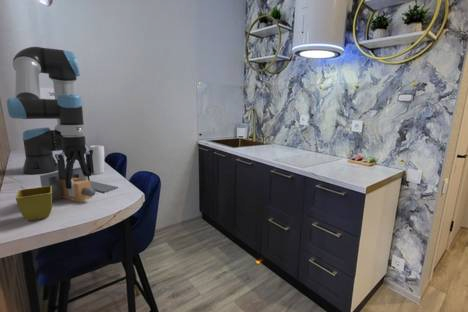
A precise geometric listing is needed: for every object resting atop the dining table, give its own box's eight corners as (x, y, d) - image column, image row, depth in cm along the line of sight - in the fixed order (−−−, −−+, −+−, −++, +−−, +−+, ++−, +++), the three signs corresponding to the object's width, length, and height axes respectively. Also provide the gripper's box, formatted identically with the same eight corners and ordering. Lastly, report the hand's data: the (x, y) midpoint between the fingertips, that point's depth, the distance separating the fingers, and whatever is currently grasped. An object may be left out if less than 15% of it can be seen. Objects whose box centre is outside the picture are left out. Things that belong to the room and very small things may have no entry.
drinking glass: (108, 172, 134) (106, 146, 131) (96, 175, 128) (94, 147, 125) (101, 170, 137) (99, 144, 134) (89, 173, 131) (86, 146, 128)
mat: (71, 184, 112) (71, 183, 112) (85, 180, 119) (85, 179, 118) (104, 192, 104) (104, 191, 104) (118, 188, 110) (118, 186, 110)
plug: (52, 194, 100) (50, 177, 99) (65, 190, 105) (63, 175, 104) (86, 203, 92) (84, 186, 91) (98, 199, 97) (97, 182, 95)
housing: (43, 199, 94) (40, 175, 92) (81, 188, 108) (79, 167, 106) (51, 202, 92) (47, 177, 90) (89, 190, 106) (87, 168, 104)
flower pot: (19, 225, 74) (15, 198, 73) (22, 215, 81) (18, 189, 79) (54, 218, 79) (51, 192, 78) (54, 209, 86) (51, 185, 85)
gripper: (54, 139, 83) (61, 203, 87) (101, 134, 99) (105, 188, 104) (40, 137, 86) (48, 199, 90) (89, 133, 102) (93, 185, 107)
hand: (79, 193), depth 97 cm, fingers closed on plug, 5 cm apart
